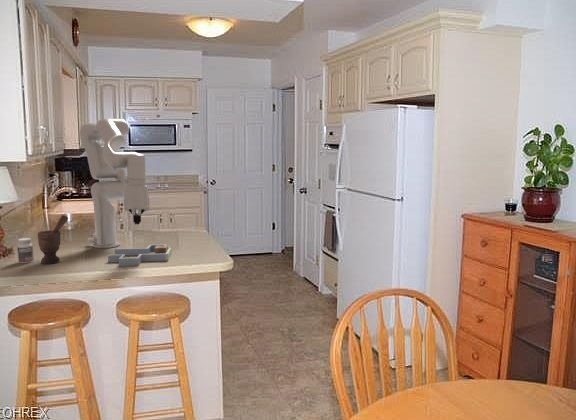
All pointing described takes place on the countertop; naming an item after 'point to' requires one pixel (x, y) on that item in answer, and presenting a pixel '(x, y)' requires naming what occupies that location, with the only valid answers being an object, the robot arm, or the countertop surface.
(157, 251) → the block
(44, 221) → the countertop surface
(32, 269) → the countertop surface
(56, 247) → the mortar and pestle
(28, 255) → the pill bottle
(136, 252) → the box
